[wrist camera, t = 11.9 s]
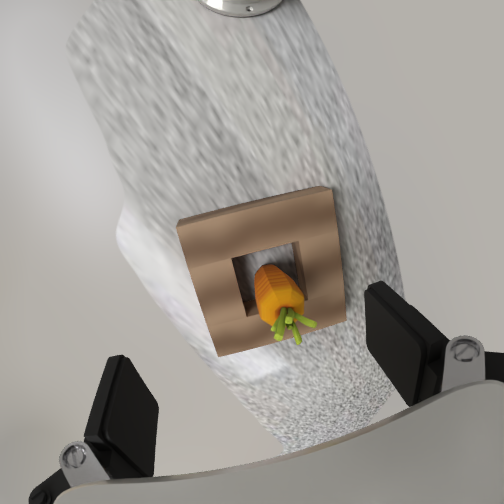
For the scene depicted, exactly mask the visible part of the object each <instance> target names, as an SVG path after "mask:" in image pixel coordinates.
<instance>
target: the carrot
mask: <svg viewBox="0 0 504 504" xmlns="http://www.w3.org/2000/svg"><path fill="white" fill-rule="evenodd" d="M254 286H255V298H256V303H257V308H258V312H259V315H260V318H261V319H262V320H263V321H265V322H266V323H268V324H269V325H271V326H272V328H271V331H273V332H274V331H275V334H274V339H276V340H277V341H281V340H282V338H283V335H284V331H285V327H287V329H288V330H291V329H292V332H293V335H294V338H295V341H296V344H297V345H299V344H300V343H301V342H302V338H301V336H300V333H299V330H298V328H297V326H296V324H295V322H296V321H297V320H298V321H300V322H301V323H303V324H304V325H306V326H309V327H311V328H316V326H317V322H315V321H313V320H310V319H308V318H306V317H304V316H302V315H303V314H304V295H303V293H302V291H301V290H300V289H299V287H298V286H297V285H296V283H295V282H294V281H293V279H291V278H290V277H289V276H288V275H287V274H285V273H284V272H283V271H281V270H280V269H279V268H278V267H276V266H275V265H272V264H268V265H262V266H261V267H260V268H259V269H258V271H257V272H256V274H255V279H254Z"/></svg>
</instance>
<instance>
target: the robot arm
mask: <svg viewBox="0 0 504 504" xmlns="http://www.w3.org/2000/svg"><path fill="white" fill-rule="evenodd" d="M198 1H199V2H200V3H201V4H202V5H203V6H205V7H206V8H208V9H210V10H212V11H214V12H216V13H220V14H223V15H228V16H234V17H248V16H255V15H259V14H263V13H265V12H268V11H270V10H271V9H273V8H275V7H276V6H277V5H278V4H279V3H280V2H281V1H282V0H207V1H205V0H198ZM247 10H249V11H247ZM364 298H365V317H366V344H367V347H368V350H369V351H370V353H371V354H372V356H373V357H374V358H375V360H376V361H377V363H378V364H379V365H380V367H381V368H382V370H383V371H384V372H385V374H386V375H387V377H388V378H389V379H390V381H391V382H392V384H393V385H394V387H395V388H396V389H397V391H398V392H399V394H400V395H401V397H402V398H403V399H404V401H405V402H406V404H407V405H408V406H409V407H410V408H407V409H405V410H403V411H401V412H399V413H397V414H394V415H392V416H390V417H388V418H386V419H383V420H381V421H379V422H376V423H374V424H372V425H370V426H367V427H365V428H362V429H360V430H357V431H355V432H352V433H349V434H347V435H344V436H341V437H339V438H336V439H333V440H330V441H327V442H324V443H321V444H318V445H315V446H312V447H309V448H306V449H303V450H299V451H296V452H292V453H289V454H285V455H282V456H278V457H274V458H270V459H266V460H262V461H258V462H253V463H249V464H244V465H239V466H234V467H228V468H224V469H217V470H211V471H205V472H197V473H189V474H181V475H171V476H161V477H160V476H159V477H153V475H154V462H155V445H156V434H157V423H158V413H159V407H158V403H157V401H156V400H155V398H154V397H153V395H152V394H151V392H150V391H149V389H148V388H147V386H146V384H145V383H144V381H143V380H142V378H141V377H140V375H139V373H138V372H137V370H136V369H135V367H134V365H133V364H132V362H131V360H130V359H129V358H128V357H125V356H124V355H117V356H112V357H109V358H108V360H107V363H106V366H105V369H104V372H103V375H102V378H101V381H100V384H99V387H98V390H97V393H96V396H95V399H94V402H93V406H92V409H91V412H90V416H89V419H88V423H87V426H86V429H85V433H84V437H85V439H84V442H82V441H75V442H72V443H70V444H68V445H67V446H66V447H65V448H64V449H63V450H62V452H61V454H60V457H59V462H60V466H61V469H59V470H58V471H57V472H55V473H54V474H53V475H52V476H50V477H49V478H48V479H46V480H45V481H44V482H42V483H41V484H40V485H38V486H37V487H36V488H35V489H34V490H33V491H32V492H31V494H30V497H29V504H504V353H497V352H485V351H484V347H483V345H482V343H481V342H480V341H479V340H477V339H476V338H474V337H471V336H459V337H455V338H453V339H452V340H449V339H448V338H446V336H445V335H443V334H442V333H441V332H440V331H439V330H438V329H437V328H436V327H435V326H434V325H433V324H432V323H431V322H430V321H429V320H428V319H426V318H425V317H424V316H423V315H422V314H421V313H420V312H419V311H418V310H417V309H415V308H414V307H413V306H412V305H409V304H408V303H407V302H406V301H405V300H404V299H403V298H402V297H400V296H399V295H398V294H397V293H396V292H395V291H394V290H393V289H391V288H390V287H389V286H388V285H387V284H386V283H385V282H383V281H379V282H376V283H373V284H370V285H369V286H368V288H367V290H365V292H364Z"/></svg>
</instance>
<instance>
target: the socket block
mask: <svg viewBox="0 0 504 504" xmlns="http://www.w3.org/2000/svg"><path fill="white" fill-rule="evenodd" d="M176 229H177V233H178V236H179V240H180V243H181V246H182V250H183V253H184V256H185V259H186V263H187V266H188V269H189V272H190V275H191V279H192V282H193V285H194V288H195V291H196V294H197V297H198V300H199V303H200V306H201V309H202V312H203V315H204V318H205V321H206V324H207V326H208V329H209V332H210V335H211V338H212V341H213V343H214V346H215V349H216V352H217V354H218V357H221V356H225V355H229V354H233V353H237V352H241V351H245V350H249V349H253V348H257V347H261V346H264V345H268V344H272V343H275V342H279V341H277V340H276V339H274V334H275V331H274V332H273V331H271V328H272V326H271V325H269V324H268V323H266V322H265V321H263V320H262V319H261V318H260V315H259V312H258V308H257V303H256V299H254V300H250V301H246V302H243V301H242V298H241V294H240V290H239V286H238V282H237V279H236V275H235V271H234V267H233V263H232V259H231V258H234V257H238V256H242V255H245V254H249V253H253V252H257V251H261V250H265V249H269V248H273V247H277V246H280V245H284V244H288V243H292V248H293V253H294V259H295V265H296V270H297V276H298V282H299V289H300V290H301V291H302V293H303V295H304V314H303V315H302V316H304V317H306V318H308V319H310V320H313V321H315V322H317V326H316V328H311V327H309V326H306V325H304V324H303V323H301V322H300V321H298V320H297V321H296V322H295V324H296V326H297V328H298V330H299V333H300V335H303V334H306V333H309V332H313V331H316V330H319V329H322V328H325V327H328V326H332V325H335V324H338V323H341V322H344V321H347V319H346V305H345V293H344V282H343V271H342V262H341V253H340V244H339V236H338V228H337V221H336V214H335V207H334V200H333V193H332V190H331V189H328V188H325V187H322V186H317V187H312V188H307V189H303V190H298V191H294V192H289V193H285V194H280V195H276V196H272V197H267V198H263V199H259V200H255V201H251V202H246V203H242V204H238V205H234V206H230V207H226V208H222V209H218V210H214V211H211V212H207V213H203V214H199V215H195V216H191V217H188V218H184V219H180V220H179V221H178V224H177V226H176ZM293 337H294V335H293V332H292V329H291V330H288V329H287V327H285V331H284V335H283V338H282V340H286V339H289V338H293ZM282 340H281V341H282Z"/></svg>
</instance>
